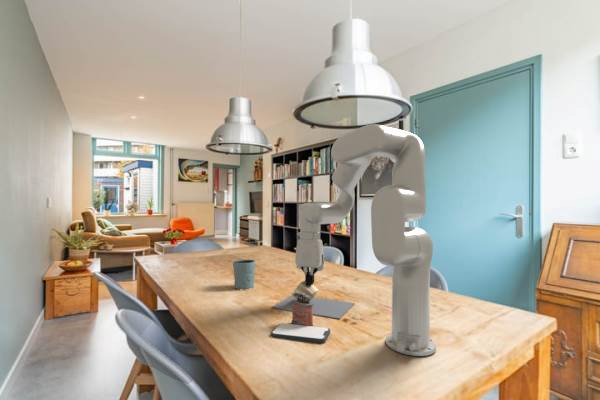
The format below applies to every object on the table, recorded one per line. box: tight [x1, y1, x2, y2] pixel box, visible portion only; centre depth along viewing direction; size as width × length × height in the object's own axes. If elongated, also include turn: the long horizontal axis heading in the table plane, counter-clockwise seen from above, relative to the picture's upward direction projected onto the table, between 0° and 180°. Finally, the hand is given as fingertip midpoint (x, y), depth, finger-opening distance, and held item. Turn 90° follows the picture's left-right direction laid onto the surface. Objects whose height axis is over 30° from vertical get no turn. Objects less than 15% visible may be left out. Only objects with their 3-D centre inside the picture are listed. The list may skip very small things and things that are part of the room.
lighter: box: [291, 292, 314, 326], centre depth 96 cm, size 8×3×10 cm, turn 47°
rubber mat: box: [271, 294, 356, 320], centre depth 115 cm, size 18×26×1 cm
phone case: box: [270, 322, 331, 345], centre depth 90 cm, size 9×2×16 cm
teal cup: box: [232, 259, 256, 290], centre depth 141 cm, size 10×10×12 cm
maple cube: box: [291, 280, 319, 302], centre depth 117 cm, size 6×6×6 cm
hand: (309, 284), depth 117 cm, fingers closed
